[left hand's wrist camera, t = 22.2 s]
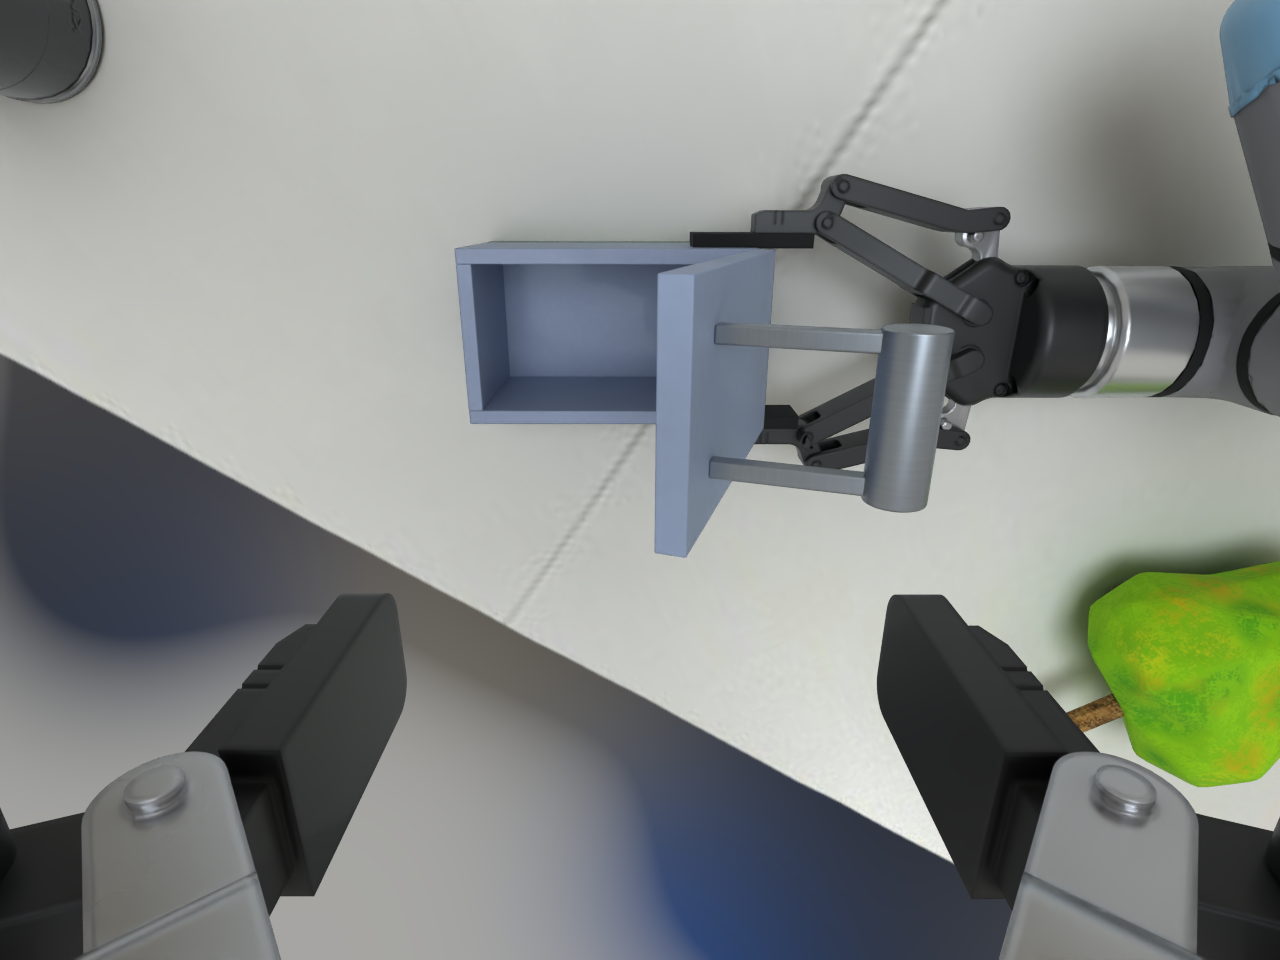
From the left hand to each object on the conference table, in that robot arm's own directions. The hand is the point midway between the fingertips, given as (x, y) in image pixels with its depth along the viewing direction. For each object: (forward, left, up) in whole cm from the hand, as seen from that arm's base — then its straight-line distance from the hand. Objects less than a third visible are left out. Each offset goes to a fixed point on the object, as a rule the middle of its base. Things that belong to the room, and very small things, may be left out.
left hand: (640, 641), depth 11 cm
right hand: (+3, 0, -31) cm, 31 cm away
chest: (-2, 0, -38) cm, 38 cm away
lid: (+3, 0, -20) cm, 20 cm away
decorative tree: (+33, -33, -38) cm, 60 cm away
